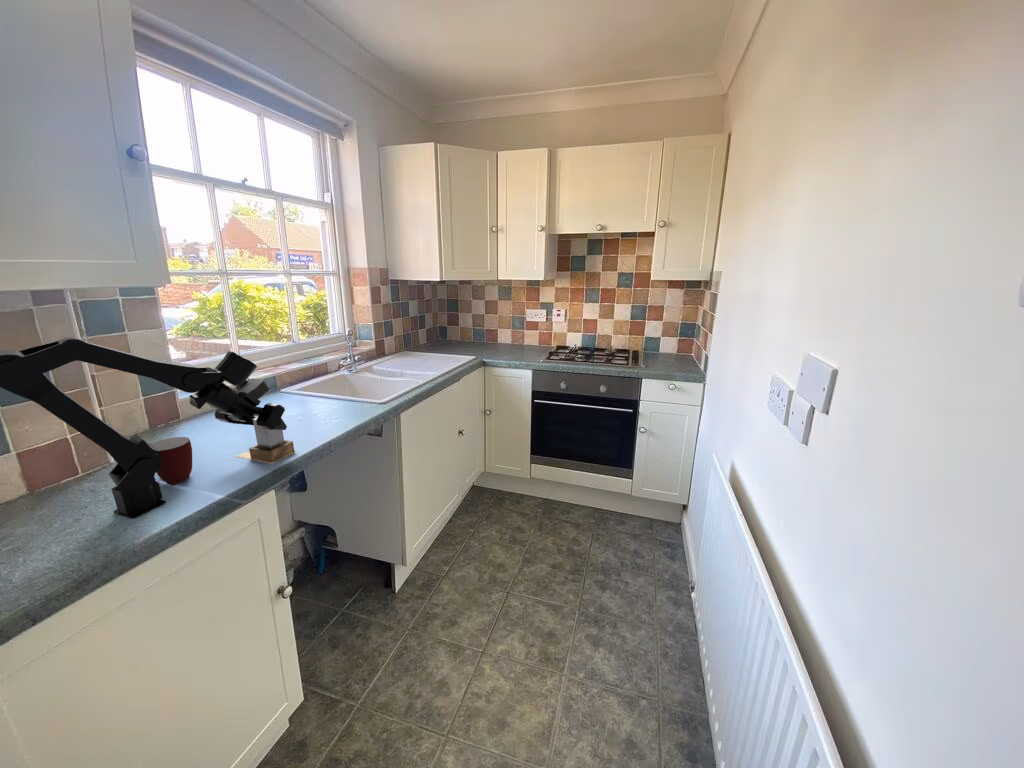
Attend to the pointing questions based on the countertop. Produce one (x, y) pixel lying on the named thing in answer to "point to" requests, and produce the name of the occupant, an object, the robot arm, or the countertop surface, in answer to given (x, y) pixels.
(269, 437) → the post
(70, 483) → the countertop surface
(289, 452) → the stand
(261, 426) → the robot arm
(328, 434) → the countertop surface
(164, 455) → the mug
